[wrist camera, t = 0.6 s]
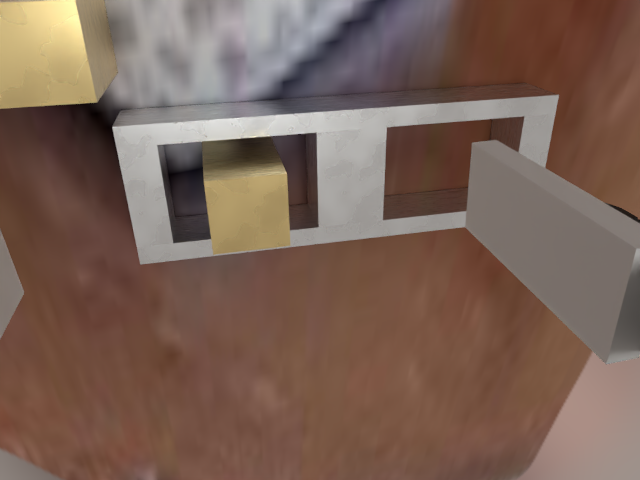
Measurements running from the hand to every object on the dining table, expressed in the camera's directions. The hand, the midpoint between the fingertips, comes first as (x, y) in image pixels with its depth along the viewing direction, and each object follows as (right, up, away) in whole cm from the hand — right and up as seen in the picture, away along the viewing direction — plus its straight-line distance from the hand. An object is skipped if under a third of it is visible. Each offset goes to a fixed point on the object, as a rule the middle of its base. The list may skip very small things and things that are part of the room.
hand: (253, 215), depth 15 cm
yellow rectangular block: (-13, +11, +16) cm, 23 cm away
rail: (+3, +5, +23) cm, 24 cm away
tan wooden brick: (-4, +4, +22) cm, 23 cm away
